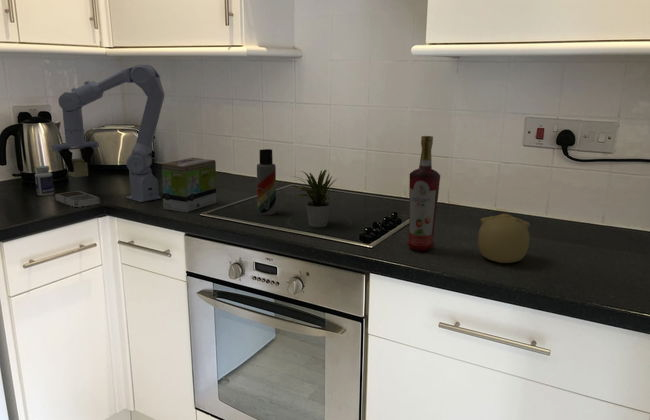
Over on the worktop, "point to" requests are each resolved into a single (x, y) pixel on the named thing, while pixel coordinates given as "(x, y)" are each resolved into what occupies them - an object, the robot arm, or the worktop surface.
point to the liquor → (423, 200)
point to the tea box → (189, 184)
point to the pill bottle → (44, 181)
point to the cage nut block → (79, 168)
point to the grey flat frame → (77, 199)
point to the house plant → (317, 199)
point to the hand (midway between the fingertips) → (78, 170)
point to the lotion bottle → (266, 183)
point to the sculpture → (503, 238)
